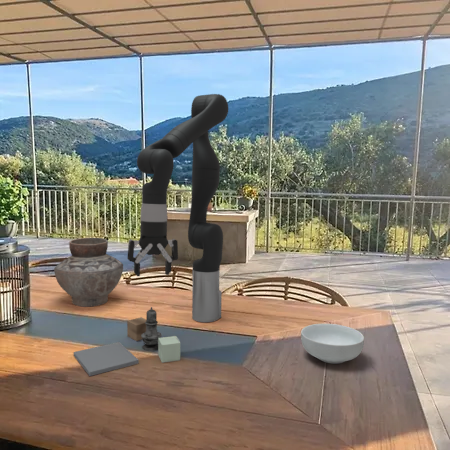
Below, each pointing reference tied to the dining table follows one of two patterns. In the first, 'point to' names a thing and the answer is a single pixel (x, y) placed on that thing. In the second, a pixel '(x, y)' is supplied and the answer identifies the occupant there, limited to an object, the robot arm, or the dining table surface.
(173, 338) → the sage block
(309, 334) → the cereal bowl
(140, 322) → the walnut block
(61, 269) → the ceramic pot
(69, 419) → the dining table surface
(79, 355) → the serving board
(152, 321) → the salt shaker
